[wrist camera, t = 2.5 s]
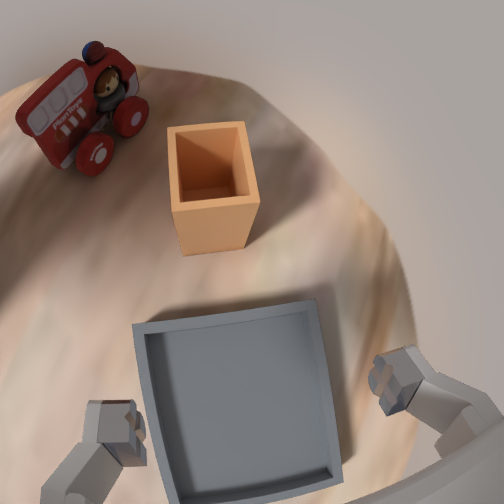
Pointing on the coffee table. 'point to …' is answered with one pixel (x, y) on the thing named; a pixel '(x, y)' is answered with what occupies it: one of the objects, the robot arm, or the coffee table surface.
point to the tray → (240, 405)
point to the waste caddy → (211, 186)
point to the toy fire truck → (85, 109)
